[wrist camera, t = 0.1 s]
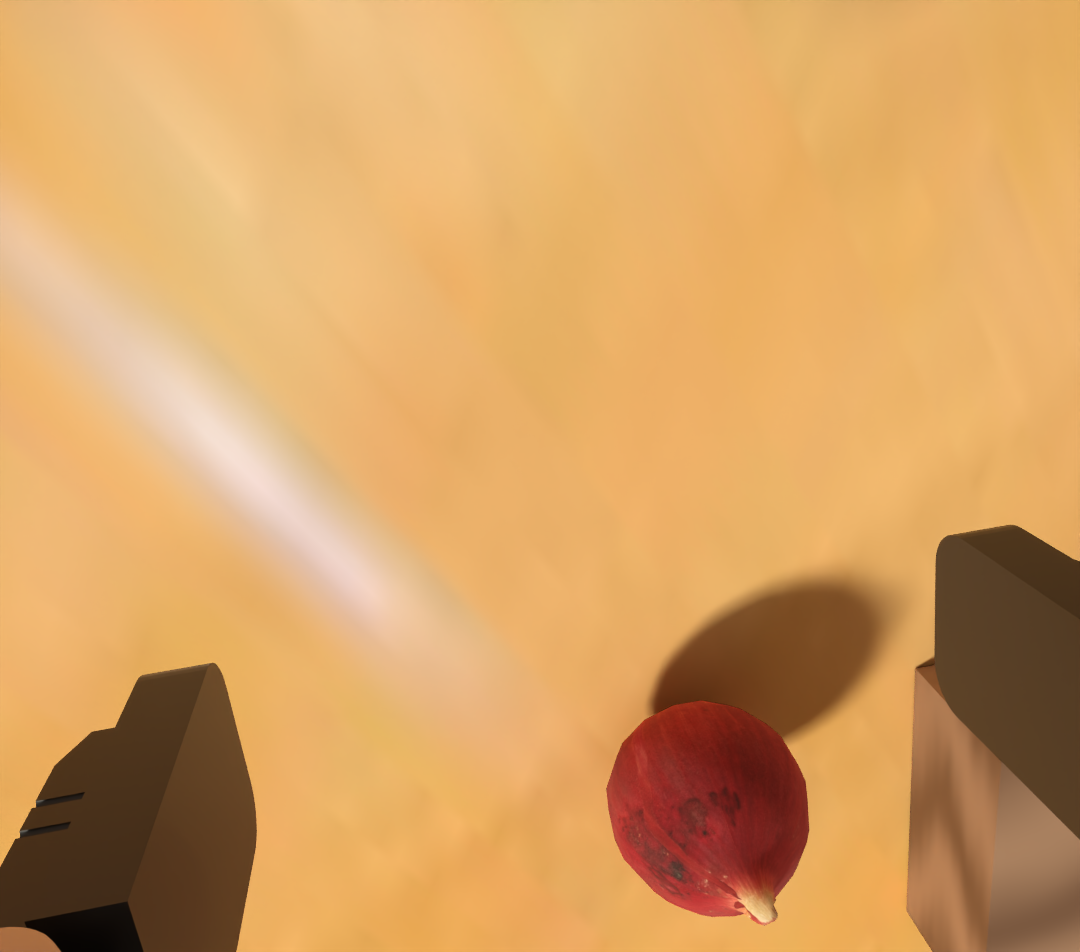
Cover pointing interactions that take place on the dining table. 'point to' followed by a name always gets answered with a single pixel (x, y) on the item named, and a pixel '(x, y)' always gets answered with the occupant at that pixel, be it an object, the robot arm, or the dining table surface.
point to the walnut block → (983, 845)
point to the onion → (710, 809)
